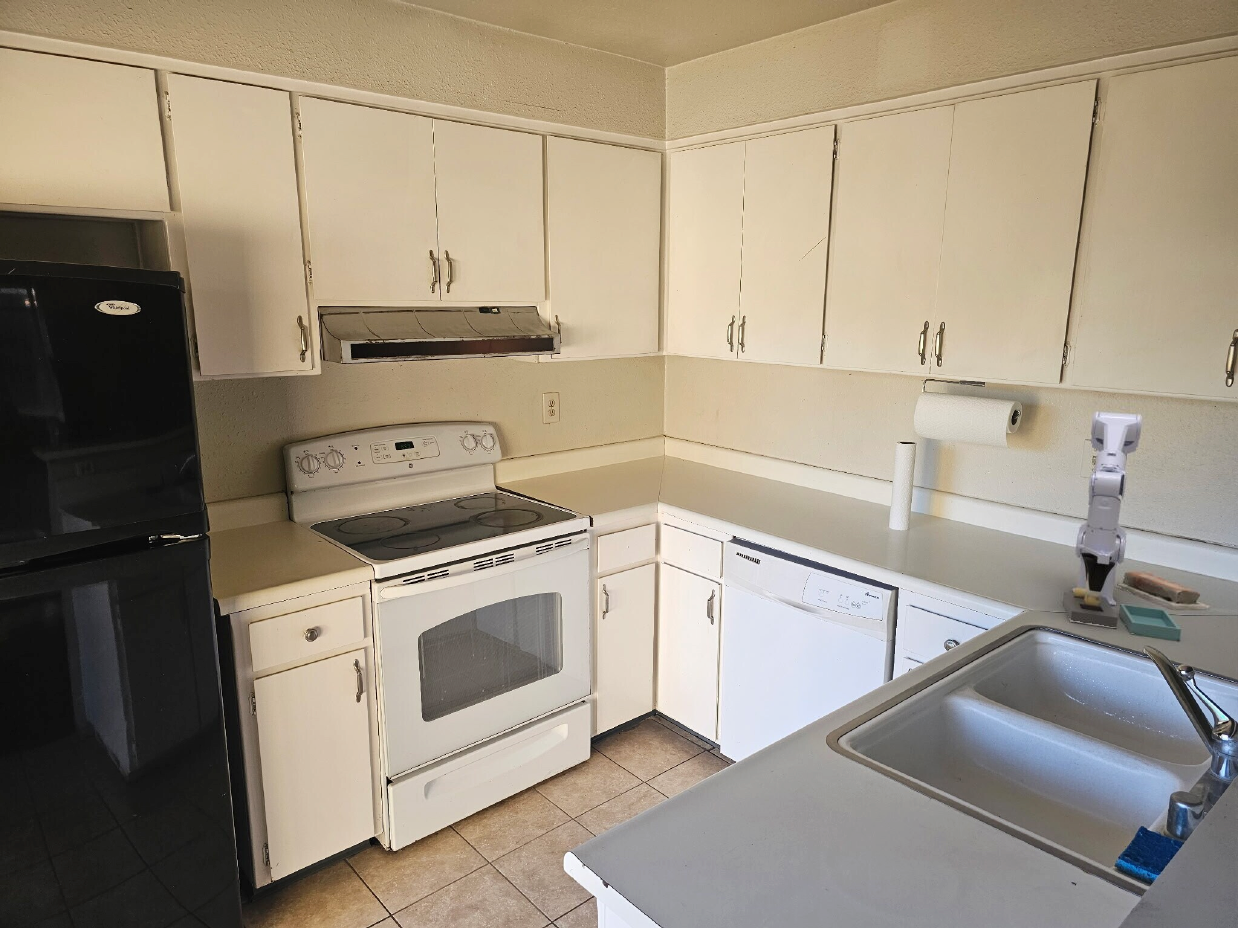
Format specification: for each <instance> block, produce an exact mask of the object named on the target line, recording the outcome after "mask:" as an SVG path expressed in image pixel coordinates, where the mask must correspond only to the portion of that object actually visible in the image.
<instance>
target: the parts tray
mask: <svg viewBox="0 0 1238 928" xmlns="http://www.w3.org/2000/svg"><path fill="white" fill-rule="evenodd" d="M1118 615H1120V616H1121V617H1120V616H1119V617H1120V619H1121V618H1122V619H1123V621H1124V622H1123V621H1122V622H1123V624H1124V623H1125V624H1126V626H1127V627H1128V629H1129V631H1130V632H1129V631H1128V632H1129V633H1134V634H1136V635H1135V636H1143V637H1148V638H1155V639H1160V640H1161V639H1163V640H1169V641H1176V642H1180V640H1181V633H1182V628H1181V627H1180V626H1179V625H1178V624H1177V622H1176V621H1175V620H1174V619H1173V617H1172V616H1171V615H1170V614H1169V612H1168V611H1167V610H1166V609H1160V608H1155V607H1154V608H1152V607H1145V606H1141V605H1140V606H1138V605H1132V604H1124V603H1120V604H1119V611H1118ZM1122 619H1121V620H1122ZM1125 624H1124V625H1125ZM1126 626H1125V627H1126ZM1127 627H1126V628H1127ZM1128 629H1127V630H1128ZM1134 634H1133V635H1134Z"/></svg>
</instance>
